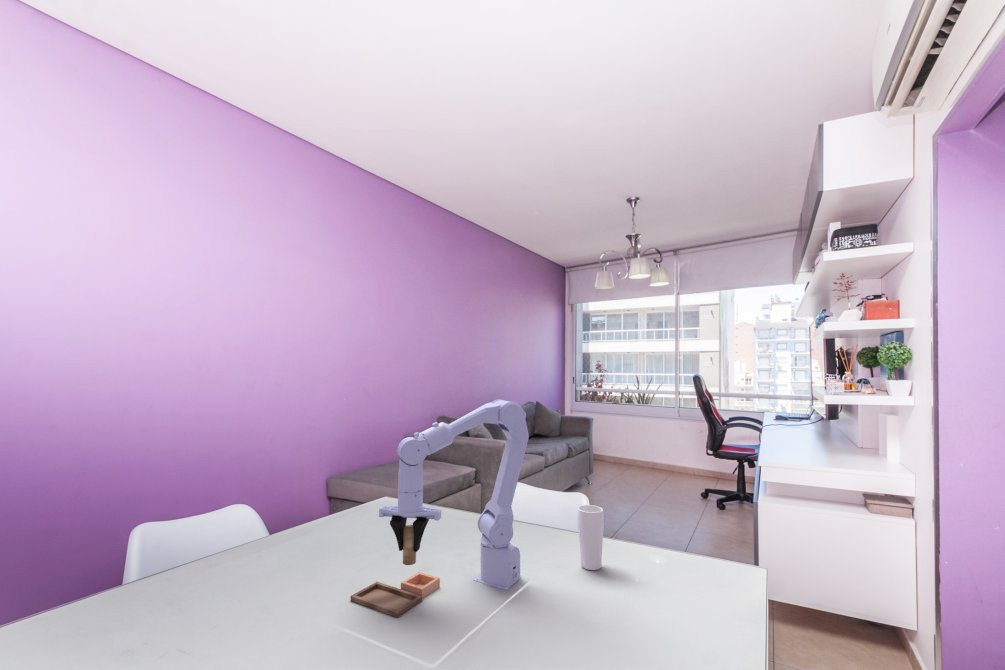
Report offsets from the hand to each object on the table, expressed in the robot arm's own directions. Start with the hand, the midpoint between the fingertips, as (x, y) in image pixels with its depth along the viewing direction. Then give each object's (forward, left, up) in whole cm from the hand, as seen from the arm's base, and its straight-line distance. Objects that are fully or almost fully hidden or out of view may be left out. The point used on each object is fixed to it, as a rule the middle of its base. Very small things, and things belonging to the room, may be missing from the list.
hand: (409, 549), depth 108 cm
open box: (-1, -3, -10) cm, 11 cm away
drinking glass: (-31, -36, -10) cm, 49 cm away
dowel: (0, 0, -3) cm, 3 cm away
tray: (+2, +5, -10) cm, 12 cm away
